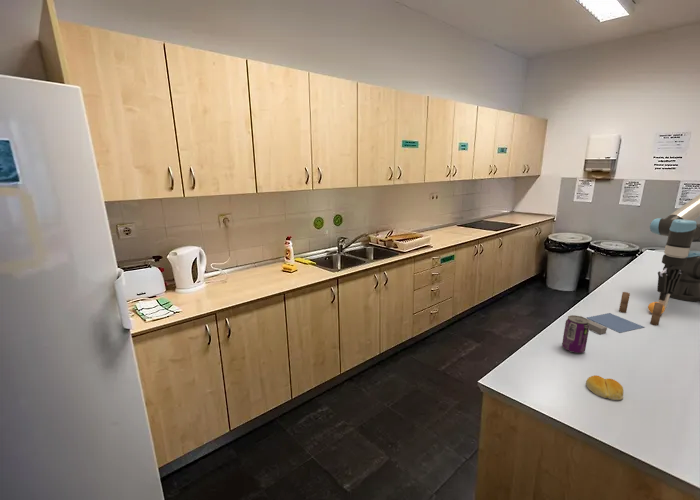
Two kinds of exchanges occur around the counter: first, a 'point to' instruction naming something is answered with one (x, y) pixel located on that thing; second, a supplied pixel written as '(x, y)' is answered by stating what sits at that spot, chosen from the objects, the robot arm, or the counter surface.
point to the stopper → (597, 327)
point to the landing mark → (615, 322)
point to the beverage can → (575, 334)
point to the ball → (651, 307)
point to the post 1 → (624, 302)
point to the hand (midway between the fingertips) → (661, 306)
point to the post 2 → (656, 314)
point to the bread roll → (605, 387)
